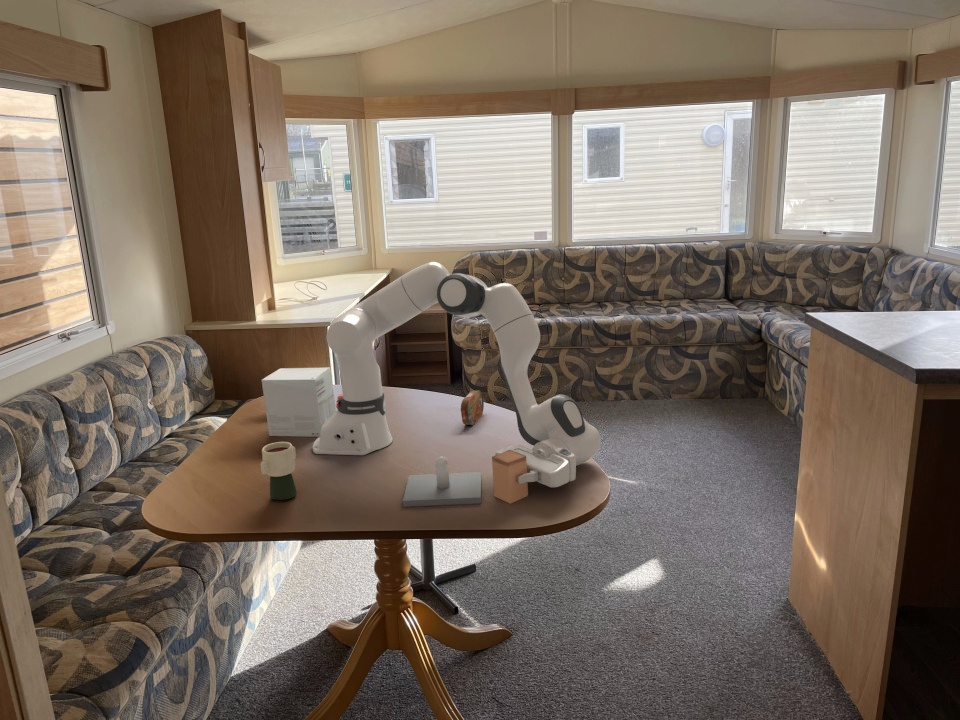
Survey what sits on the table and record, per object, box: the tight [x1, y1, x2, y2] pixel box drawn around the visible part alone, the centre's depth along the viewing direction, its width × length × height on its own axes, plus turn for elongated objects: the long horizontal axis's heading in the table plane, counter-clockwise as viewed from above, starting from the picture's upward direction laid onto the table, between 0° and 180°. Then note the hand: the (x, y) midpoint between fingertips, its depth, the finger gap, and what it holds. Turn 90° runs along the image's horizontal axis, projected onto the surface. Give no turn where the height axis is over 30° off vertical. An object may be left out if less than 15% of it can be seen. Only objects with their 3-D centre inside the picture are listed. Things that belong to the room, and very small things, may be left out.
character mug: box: [260, 441, 298, 501], centre depth 169 cm, size 11×7×13 cm, turn 150°
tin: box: [460, 390, 484, 426], centre depth 215 cm, size 15×3×8 cm, turn 162°
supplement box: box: [261, 366, 337, 438], centre depth 214 cm, size 17×13×18 cm
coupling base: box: [402, 455, 482, 508], centre depth 168 cm, size 18×14×9 cm
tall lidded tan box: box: [491, 450, 529, 505], centre depth 163 cm, size 6×6×10 cm
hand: (507, 475), depth 162 cm, fingers closed on tall lidded tan box, 6 cm apart
